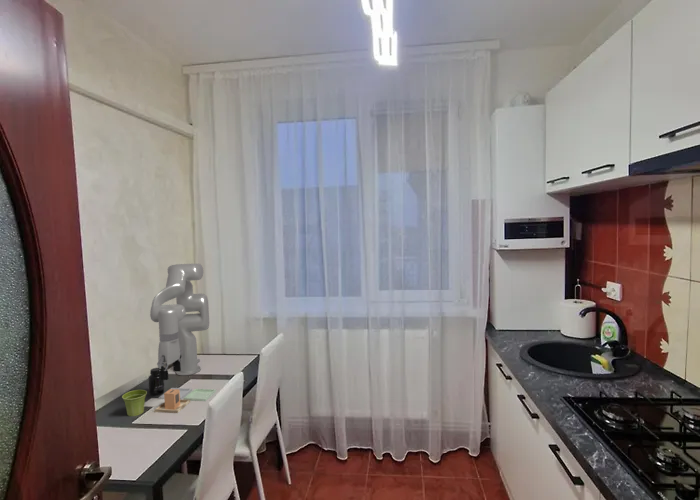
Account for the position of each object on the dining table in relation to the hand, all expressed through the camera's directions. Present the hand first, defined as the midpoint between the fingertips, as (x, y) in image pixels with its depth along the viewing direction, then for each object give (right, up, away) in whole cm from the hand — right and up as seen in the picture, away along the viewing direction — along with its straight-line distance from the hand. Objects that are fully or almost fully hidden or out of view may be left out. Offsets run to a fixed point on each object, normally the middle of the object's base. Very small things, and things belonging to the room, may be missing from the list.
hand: (171, 375), depth 177 cm
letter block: (0, -14, +1) cm, 14 cm away
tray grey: (-4, -14, +14) cm, 20 cm away
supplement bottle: (-14, -14, +16) cm, 26 cm away
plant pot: (-13, -16, -4) cm, 21 cm away
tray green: (+8, -14, +12) cm, 20 cm away
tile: (-10, -15, +6) cm, 19 cm away
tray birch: (0, -15, +1) cm, 15 cm away
